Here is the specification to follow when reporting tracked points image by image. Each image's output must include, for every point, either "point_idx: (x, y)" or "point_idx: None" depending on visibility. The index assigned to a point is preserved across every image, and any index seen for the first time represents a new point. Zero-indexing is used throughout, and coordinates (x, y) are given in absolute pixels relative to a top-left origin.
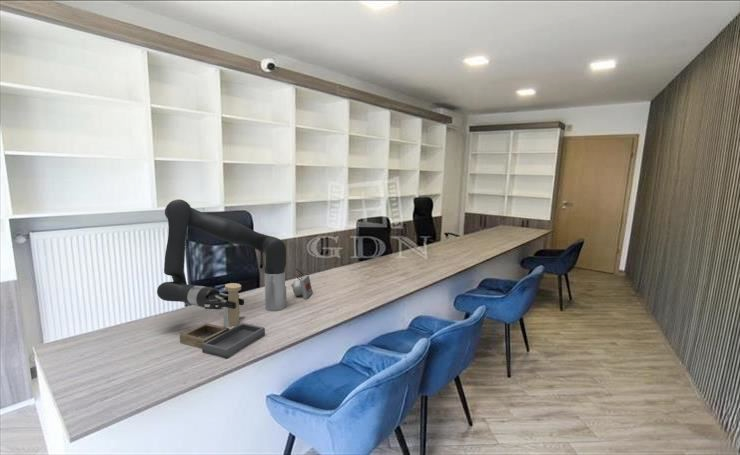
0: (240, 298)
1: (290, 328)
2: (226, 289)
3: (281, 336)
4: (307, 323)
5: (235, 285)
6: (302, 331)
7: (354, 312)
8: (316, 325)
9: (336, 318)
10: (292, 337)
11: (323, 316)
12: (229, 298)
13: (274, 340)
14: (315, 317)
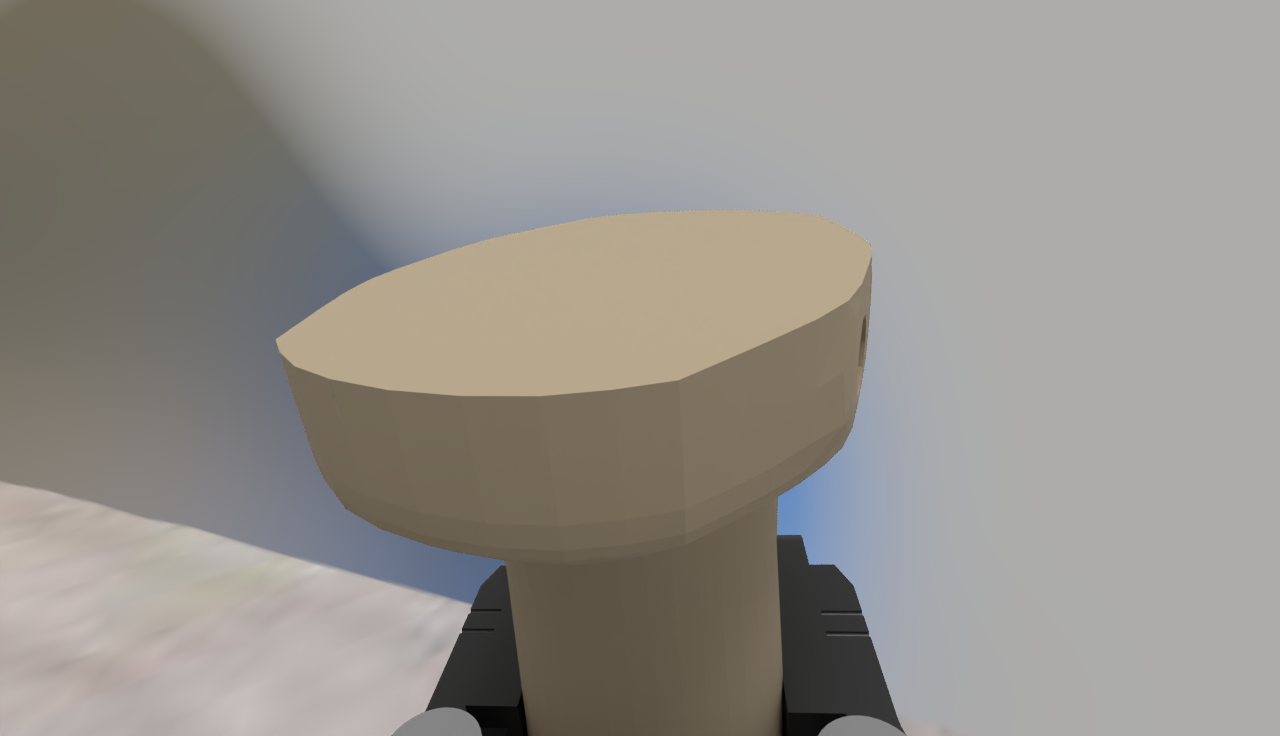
0: (506, 594)
1: (246, 723)
2: (848, 389)
3: (425, 704)
4: (159, 653)
5: (583, 251)
6: (330, 617)
7: (49, 503)
8: (225, 588)
9: (123, 541)
10: (440, 626)
11: (33, 616)
12: (778, 610)
13: None
14: (26, 656)
